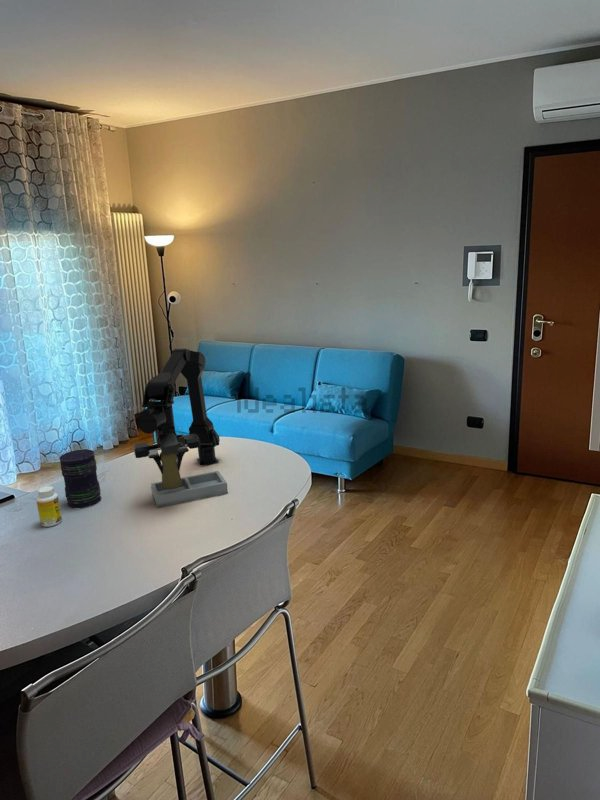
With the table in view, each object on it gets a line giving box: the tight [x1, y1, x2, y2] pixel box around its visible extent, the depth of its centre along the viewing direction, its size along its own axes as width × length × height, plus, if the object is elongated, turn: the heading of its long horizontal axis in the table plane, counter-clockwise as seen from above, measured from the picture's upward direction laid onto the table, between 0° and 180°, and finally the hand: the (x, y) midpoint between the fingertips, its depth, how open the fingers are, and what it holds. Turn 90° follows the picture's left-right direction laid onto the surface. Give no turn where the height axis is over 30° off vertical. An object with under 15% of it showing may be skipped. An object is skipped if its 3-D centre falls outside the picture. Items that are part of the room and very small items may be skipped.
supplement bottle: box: [35, 485, 63, 528], centre depth 161 cm, size 6×6×10 cm
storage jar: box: [59, 448, 102, 509], centre depth 174 cm, size 10×10×15 cm
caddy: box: [150, 470, 229, 509], centre depth 176 cm, size 11×21×4 cm, turn 111°
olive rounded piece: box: [159, 451, 182, 490], centre depth 172 cm, size 6×6×11 cm
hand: (170, 472), depth 173 cm, fingers closed on olive rounded piece, 4 cm apart
